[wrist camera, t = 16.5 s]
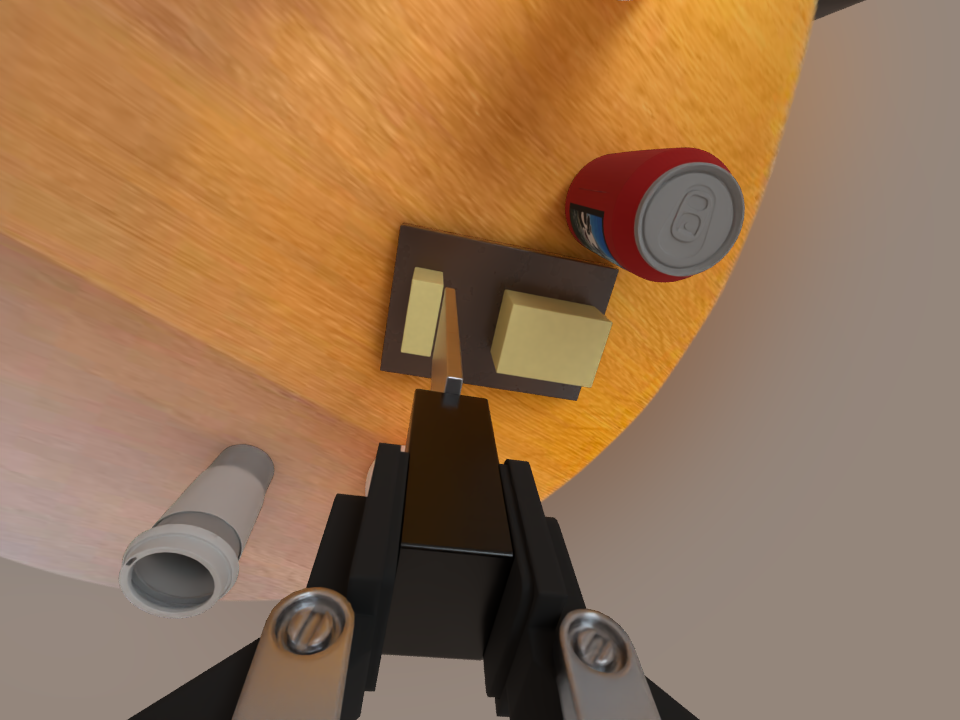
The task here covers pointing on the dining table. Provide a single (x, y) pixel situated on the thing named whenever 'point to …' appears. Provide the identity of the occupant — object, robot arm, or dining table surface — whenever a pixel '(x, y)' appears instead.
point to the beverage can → (656, 211)
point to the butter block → (549, 339)
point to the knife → (449, 517)
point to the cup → (198, 538)
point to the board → (485, 299)
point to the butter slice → (422, 311)
